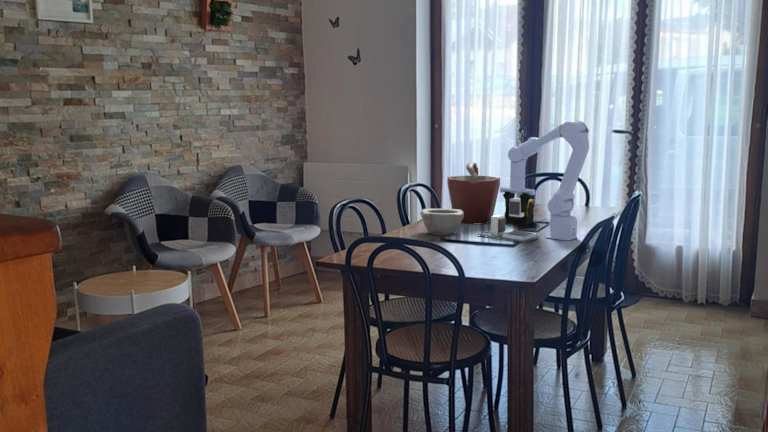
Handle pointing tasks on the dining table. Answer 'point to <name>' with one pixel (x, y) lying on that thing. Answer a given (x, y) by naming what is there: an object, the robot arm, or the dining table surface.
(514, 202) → the white matte cuboid
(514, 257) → the dining table surface
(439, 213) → the mortar
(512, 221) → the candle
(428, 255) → the dining table surface
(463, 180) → the bucket
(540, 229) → the dining table surface
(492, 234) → the grey hollow box
